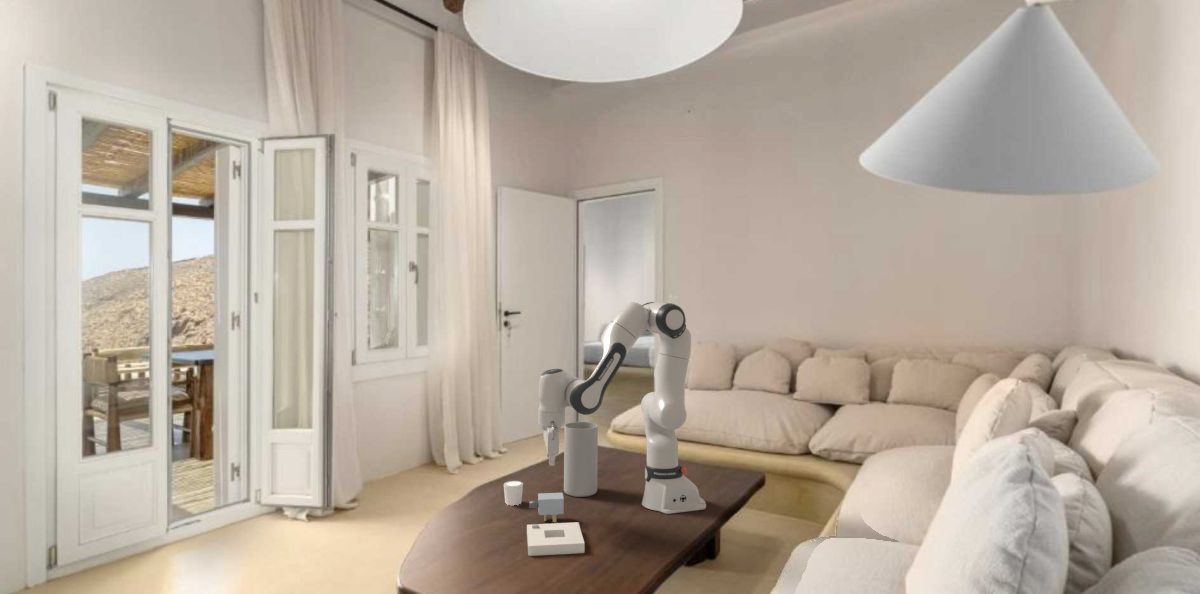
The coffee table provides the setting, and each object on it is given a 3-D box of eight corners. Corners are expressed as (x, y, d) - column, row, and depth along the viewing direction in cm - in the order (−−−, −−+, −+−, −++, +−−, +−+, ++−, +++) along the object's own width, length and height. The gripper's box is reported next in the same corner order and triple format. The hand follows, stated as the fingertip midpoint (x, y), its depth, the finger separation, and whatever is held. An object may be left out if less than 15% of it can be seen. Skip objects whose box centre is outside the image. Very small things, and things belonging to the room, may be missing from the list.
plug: (561, 516, 202) (562, 492, 202) (563, 523, 196) (563, 498, 196) (528, 518, 200) (529, 493, 200) (529, 524, 194) (529, 500, 194)
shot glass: (519, 507, 210) (519, 487, 210) (500, 505, 211) (500, 485, 211) (525, 500, 217) (525, 481, 217) (507, 499, 218) (507, 479, 218)
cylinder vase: (598, 487, 232) (599, 422, 232) (595, 498, 220) (595, 429, 220) (566, 486, 234) (567, 421, 233) (561, 496, 221) (561, 428, 221)
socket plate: (578, 531, 189) (578, 519, 189) (584, 552, 174) (584, 540, 173) (526, 533, 187) (526, 522, 187) (528, 555, 171) (528, 543, 171)
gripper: (563, 425, 188) (563, 470, 188) (558, 412, 208) (558, 452, 208) (543, 426, 187) (542, 470, 187) (540, 413, 207) (539, 453, 207)
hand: (550, 461), depth 198 cm, fingers open, 8 cm apart
